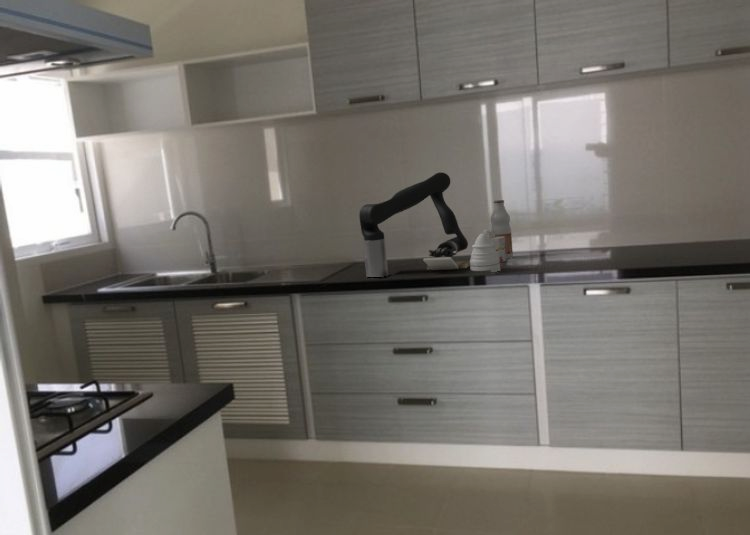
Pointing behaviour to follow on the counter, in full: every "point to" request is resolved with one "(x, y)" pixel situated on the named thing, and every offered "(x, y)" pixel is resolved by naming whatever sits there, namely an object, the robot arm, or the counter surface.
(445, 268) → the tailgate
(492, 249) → the honey pot
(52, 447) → the counter surface
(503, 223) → the fruit juice
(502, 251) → the ink cartridge box
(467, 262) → the bed
